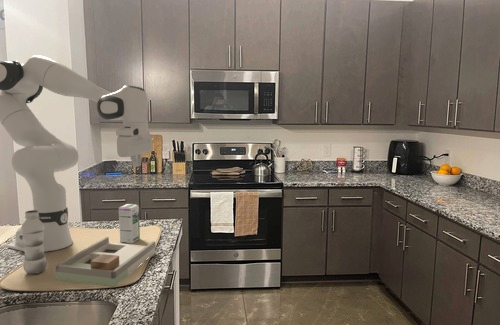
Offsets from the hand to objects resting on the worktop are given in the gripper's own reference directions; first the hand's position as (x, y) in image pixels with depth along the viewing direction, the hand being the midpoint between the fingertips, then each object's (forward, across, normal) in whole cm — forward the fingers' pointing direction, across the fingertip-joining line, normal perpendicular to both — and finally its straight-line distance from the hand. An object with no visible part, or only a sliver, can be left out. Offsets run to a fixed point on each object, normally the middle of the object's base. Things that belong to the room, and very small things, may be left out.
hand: (136, 166), depth 141 cm
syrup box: (+31, -4, -6) cm, 32 cm away
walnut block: (+29, +29, +4) cm, 41 cm away
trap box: (+31, +19, 0) cm, 37 cm away
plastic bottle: (+31, +30, -20) cm, 48 cm away
